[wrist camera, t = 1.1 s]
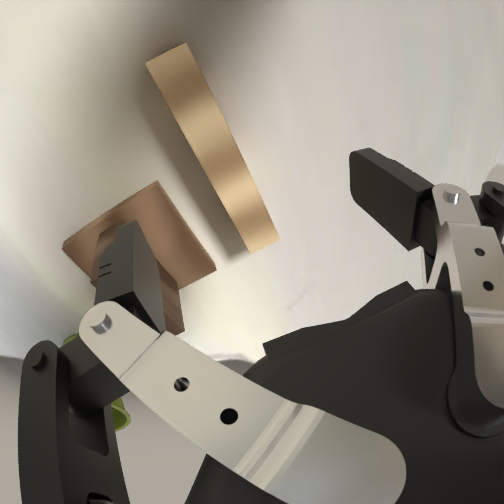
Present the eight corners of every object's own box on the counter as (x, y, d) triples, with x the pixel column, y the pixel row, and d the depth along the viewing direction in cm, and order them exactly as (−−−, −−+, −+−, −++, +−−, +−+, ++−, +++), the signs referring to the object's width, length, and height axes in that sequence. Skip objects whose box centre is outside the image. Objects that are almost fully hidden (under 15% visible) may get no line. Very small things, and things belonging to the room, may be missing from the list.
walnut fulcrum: (157, 180, 27) (159, 228, 21) (214, 263, 35) (230, 316, 29) (64, 241, 27) (47, 297, 22) (130, 307, 35) (131, 361, 29)
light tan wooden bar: (147, 61, 20) (144, 64, 17) (182, 43, 20) (186, 42, 17) (240, 231, 34) (250, 254, 31) (267, 217, 33) (280, 239, 30)
